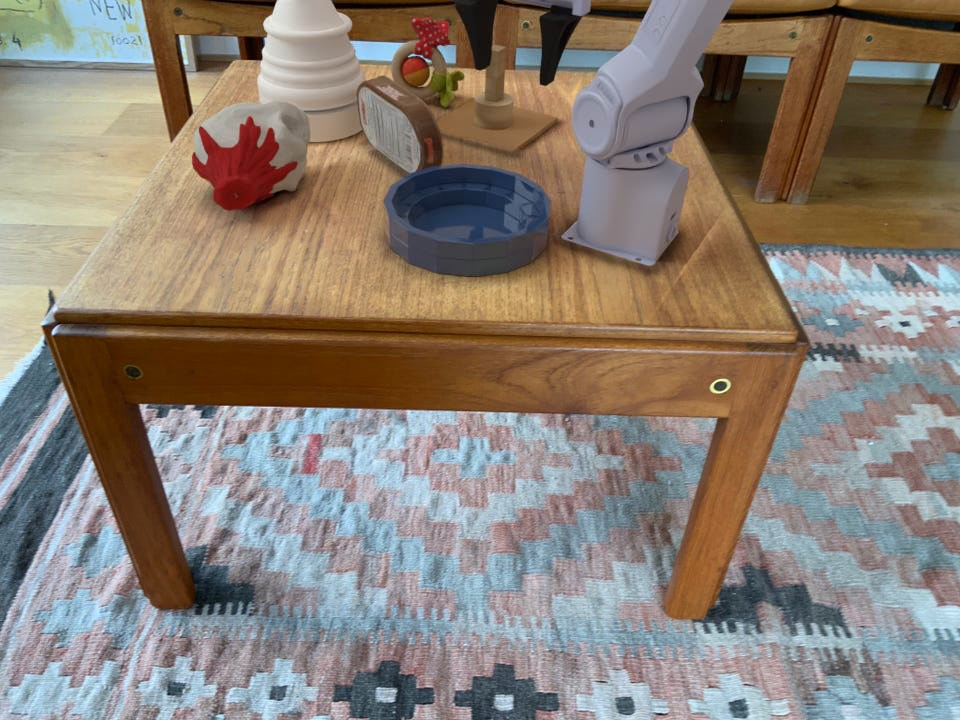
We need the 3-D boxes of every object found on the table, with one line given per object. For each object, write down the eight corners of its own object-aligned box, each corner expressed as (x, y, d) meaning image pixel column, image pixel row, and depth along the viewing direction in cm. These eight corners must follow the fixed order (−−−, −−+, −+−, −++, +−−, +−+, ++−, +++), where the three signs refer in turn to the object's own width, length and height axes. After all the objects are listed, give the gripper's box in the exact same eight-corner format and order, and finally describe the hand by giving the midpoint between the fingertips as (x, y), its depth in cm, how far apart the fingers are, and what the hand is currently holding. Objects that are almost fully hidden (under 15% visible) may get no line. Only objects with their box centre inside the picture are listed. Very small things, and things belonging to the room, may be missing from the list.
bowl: (572, 226, 79) (577, 189, 76) (498, 300, 68) (500, 261, 66) (441, 186, 84) (441, 151, 82) (353, 249, 74) (350, 211, 71)
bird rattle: (408, 126, 102) (472, 101, 99) (369, 44, 95) (437, 15, 93) (412, 108, 107) (474, 84, 104) (376, 29, 100) (441, 1, 98)
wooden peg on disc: (519, 120, 98) (524, 46, 92) (500, 133, 94) (504, 57, 89) (485, 111, 100) (488, 38, 94) (466, 124, 96) (468, 49, 91)
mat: (557, 122, 99) (557, 117, 99) (513, 155, 91) (513, 150, 91) (475, 101, 104) (475, 96, 103) (426, 131, 96) (426, 126, 95)
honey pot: (370, 140, 93) (361, -24, 81) (259, 143, 91) (234, -24, 80) (366, 100, 103) (357, -52, 91) (265, 102, 101) (244, -53, 89)
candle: (315, 158, 87) (303, 241, 77) (212, 156, 86) (185, 241, 76) (307, 81, 81) (292, 161, 71) (195, 79, 80) (163, 160, 70)
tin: (445, 185, 85) (446, 109, 79) (420, 192, 83) (419, 115, 78) (378, 135, 94) (374, 64, 89) (354, 141, 93) (349, 69, 87)
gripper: (611, -67, 74) (592, 78, 82) (478, -87, 79) (473, 51, 88) (580, -54, 69) (564, 98, 77) (440, -76, 74) (440, 69, 83)
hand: (514, 75), depth 82 cm, fingers open, 7 cm apart
